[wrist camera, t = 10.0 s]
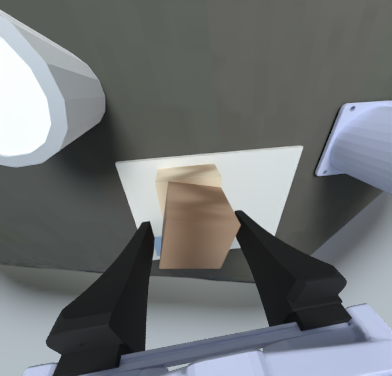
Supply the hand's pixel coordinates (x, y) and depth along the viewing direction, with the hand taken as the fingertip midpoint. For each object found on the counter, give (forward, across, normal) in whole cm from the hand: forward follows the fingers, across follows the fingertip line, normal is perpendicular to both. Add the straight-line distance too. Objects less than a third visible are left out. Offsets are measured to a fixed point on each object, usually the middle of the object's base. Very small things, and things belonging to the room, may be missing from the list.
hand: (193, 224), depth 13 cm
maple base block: (+6, 0, 0) cm, 6 cm away
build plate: (+6, -3, +4) cm, 8 cm away
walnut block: (+3, 0, 0) cm, 3 cm away
